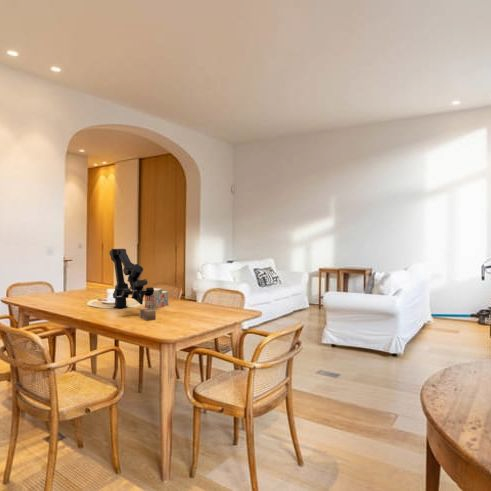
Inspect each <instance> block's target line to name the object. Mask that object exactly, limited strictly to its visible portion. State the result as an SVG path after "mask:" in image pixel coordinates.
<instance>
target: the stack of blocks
mask: <svg viewBox="0 0 491 491" xmlns="http://www.w3.org/2000/svg"><path fill="white" fill-rule="evenodd" d="M153 288H154V292H153V294H152V295H151V296H145V295H144V297H145V298H144V308H149V309H152V310H155V311H156V310H158V309H160V308H163V307H165V306H167V305H169V291H168V290H163V288H159V287H158V288H157V287H156V288H155V287H153Z"/></svg>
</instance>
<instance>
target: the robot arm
mask: <svg viewBox="0 0 491 491" xmlns="http://www.w3.org/2000/svg"><path fill="white" fill-rule="evenodd" d="M109 256H110V260H112V262H113V265H114V271H115V272H114V273H115V279H116V284H115V287H114V290H113V292H112V298H113V299H114V306H113V308H115V309H124V308H128V305H127V298H128V299H129V296H131V299H133V300H135V301H136V302H137V303H138V304H140V305H141V306H142V305H143V302H144V297H145V296H151V295H152V294H153V292H154V288H155V287H153V286H149V287H148V286H147V287H146V289H144V288H145V287H144V286H146V285H148V279H146V278H145V279H139V278H141V275H142V273H143V272H144V268H143V267H142V266H141V265H139V264H138V263H135V264H134V263H133V262H131V260H130V257H129V255H128V253H127V249H126V248H111V249H110V251H109ZM124 276H128V277H127V282H128V283H129V284H128V283H127V282H125V277H124Z"/></svg>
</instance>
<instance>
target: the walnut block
mask: <svg viewBox="0 0 491 491" xmlns="http://www.w3.org/2000/svg"><path fill="white" fill-rule="evenodd" d="M156 312H157V311H156V309H155V310H152V309H149V308H145V307H144V308H139V319H141V320H145V321H148V322H149V321H156V314H157V313H156Z"/></svg>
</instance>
